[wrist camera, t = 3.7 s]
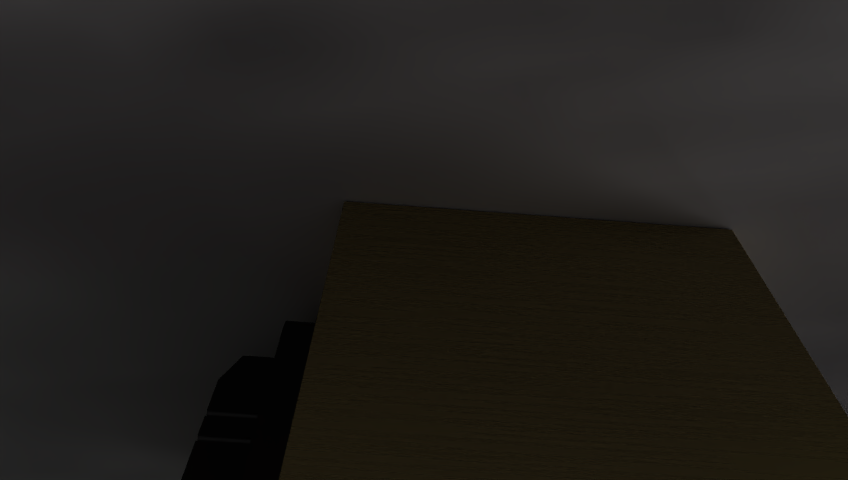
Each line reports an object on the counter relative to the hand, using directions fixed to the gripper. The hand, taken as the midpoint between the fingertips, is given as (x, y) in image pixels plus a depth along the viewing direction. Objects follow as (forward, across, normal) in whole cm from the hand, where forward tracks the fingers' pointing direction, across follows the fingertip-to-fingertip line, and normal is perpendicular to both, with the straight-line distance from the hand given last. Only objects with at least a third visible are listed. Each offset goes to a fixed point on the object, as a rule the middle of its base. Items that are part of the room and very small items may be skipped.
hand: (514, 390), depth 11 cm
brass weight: (0, 0, 0) cm, 0 cm away
